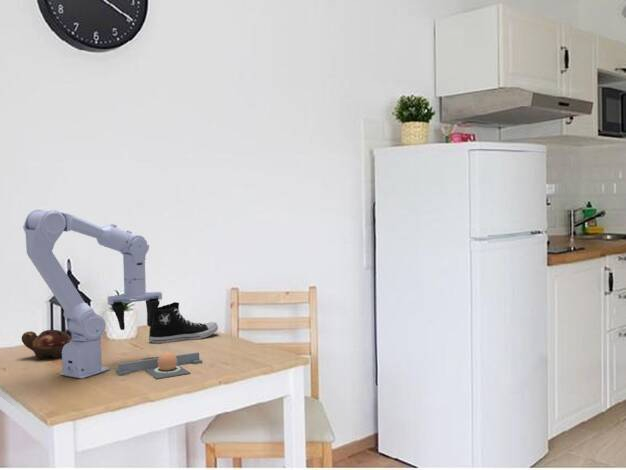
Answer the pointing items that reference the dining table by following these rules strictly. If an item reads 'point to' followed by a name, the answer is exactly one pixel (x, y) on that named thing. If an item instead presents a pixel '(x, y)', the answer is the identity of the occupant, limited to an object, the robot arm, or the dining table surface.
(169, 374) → the pad
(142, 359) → the ring
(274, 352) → the dining table surface
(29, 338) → the decorative turtle
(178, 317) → the sneaker
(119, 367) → the grey long bar
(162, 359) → the ball
